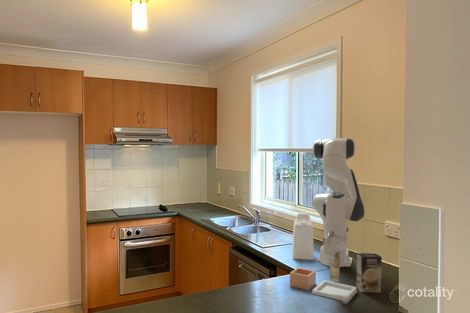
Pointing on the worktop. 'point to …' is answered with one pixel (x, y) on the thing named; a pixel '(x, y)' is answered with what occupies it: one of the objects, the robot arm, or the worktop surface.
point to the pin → (335, 268)
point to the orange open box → (303, 278)
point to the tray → (335, 291)
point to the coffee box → (368, 272)
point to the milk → (302, 237)
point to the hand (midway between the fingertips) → (335, 261)
